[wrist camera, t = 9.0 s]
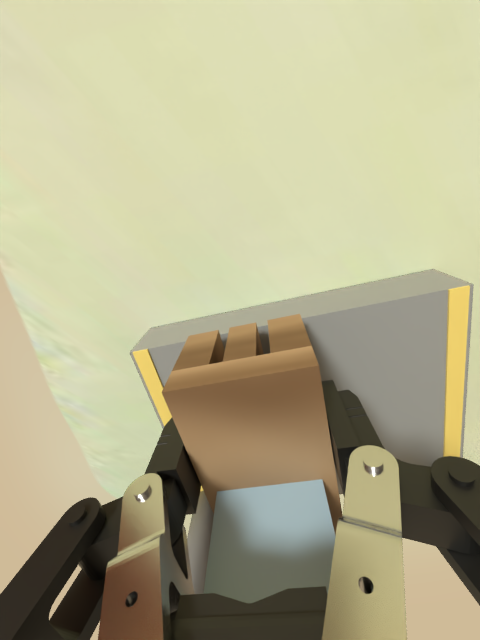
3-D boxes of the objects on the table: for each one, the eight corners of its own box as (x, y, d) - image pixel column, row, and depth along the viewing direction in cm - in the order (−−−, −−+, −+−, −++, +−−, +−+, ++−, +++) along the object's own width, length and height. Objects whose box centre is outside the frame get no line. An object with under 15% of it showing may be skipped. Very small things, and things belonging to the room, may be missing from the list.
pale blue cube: (217, 491, 11) (196, 641, 7) (322, 479, 10) (358, 635, 7) (241, 552, 12) (235, 701, 9) (334, 544, 12) (369, 700, 8)
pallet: (188, 335, 13) (161, 392, 9) (299, 313, 12) (318, 365, 8) (248, 507, 17) (246, 590, 14) (331, 498, 17) (353, 584, 13)
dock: (433, 268, 15) (657, 353, 6) (431, 440, 19) (565, 623, 11) (150, 328, 17) (48, 446, 9) (205, 469, 21) (173, 639, 13)
